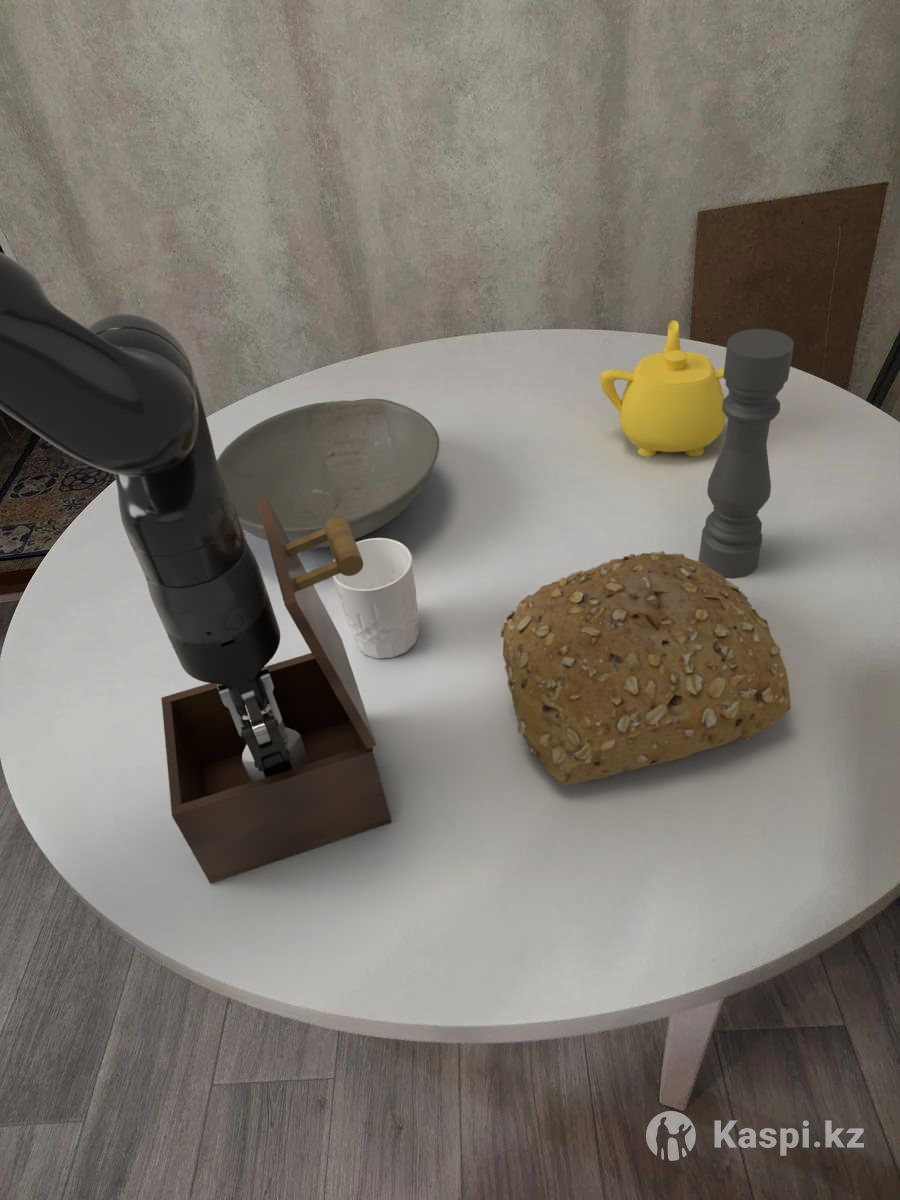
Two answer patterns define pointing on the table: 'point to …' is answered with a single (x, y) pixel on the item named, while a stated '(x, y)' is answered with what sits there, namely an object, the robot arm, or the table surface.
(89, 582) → the table surface
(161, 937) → the table surface
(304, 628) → the lid
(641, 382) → the teapot
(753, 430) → the candle holder
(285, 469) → the bowl
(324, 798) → the compartment
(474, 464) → the table surface
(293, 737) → the pepper shaker
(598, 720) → the bread
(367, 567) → the white cup
